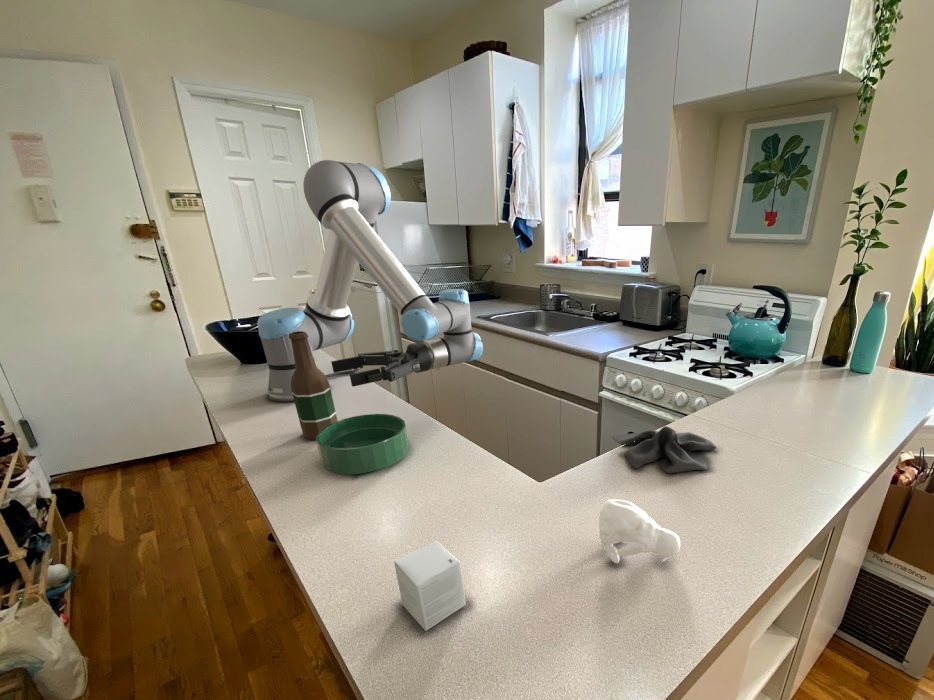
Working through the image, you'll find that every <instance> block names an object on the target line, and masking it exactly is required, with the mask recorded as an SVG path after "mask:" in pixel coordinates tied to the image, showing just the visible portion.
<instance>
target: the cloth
mask: <svg viewBox="0 0 934 700" xmlns="http://www.w3.org/2000/svg"><path fill="white" fill-rule="evenodd" d="M612 439H613V440H614V441H615V442H616V443H617V444H619V445H621V446H624V445H625V446H626V445H634V446H632V447H630V448H628V449H627V450H626V451H625V452H624V457H626V458H627V459H628V462H630V464H631V465H632V467H633V468H634V469H636V470H637V469H640V468H641V467H642V466H643V465H647V464H650V463H653V462H657V461H659V467H660V469H661V470H663V471H664V472H666V473H667V474H674V473H681V472H689V471H705V470H708V462H707V459H706V456H705V455H704V454H703V453H702V452H701V451H703V452H704V451H714V450H715V449H717V445H716V444H715V443H713V442H712V441H711V440H709V439H707V438H705V437H703V436H700V435H698V434H695V433H692V432H690V431H687V432H684V433H677V432H676V430H675V429H673V428H671V427H670V426H667V425H665V426H663V427H661V428H660V429H659V430H658V431H657V430H653V429H647V430H644V431H642V432H632V433H626V434H617V435H613V436H612ZM634 441H635V442H634Z"/></svg>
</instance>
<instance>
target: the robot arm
mask: <svg viewBox="0 0 934 700" xmlns="http://www.w3.org/2000/svg"><path fill="white" fill-rule="evenodd" d="M302 187H303V194H304V198H305V201H306V203H307V205H308V207H309V209H310V210H311V212H312V214H313V215H314V217H315V218H316V220H317V221H318V222H319V223H320V225H322V227H323V228H324V229H326V230H328V234H327V238H326V243H325V246H324V247H325V248H324V252H323V256H322V260H321V265H320V268H319V269H320V270H319V273H318V277H317V283H316V287H315V291H314V294H311V295H309V296H308V297H307V299H306V304H305V308H304V309H302V308H300V307H284V308H279V309H274V310H270V311H268V312H265V313H263V314H261V315H260V316H259V317H258V319H257V322H256V323H257V329H258V336H259V338H260V340H261V341H260V342H261V344H262V348H263V352H264V356H265V358H266V362H267V366H268V370H269V375H268V383H267V385H268V386H267V394H268V397H269V399H270V400H271V401H274V402H280V403H281V402H282V403H289V402H294V398H293V394H292V389H291V379H292V376H293V374H294V371H295V360H294V355H293V349H292V343H291V339H289V334H290V333H293V332H297V331H303V332H306V333H307V335H308V338H307V339H308V342H309V346H310V349H311V352H312V356H313V359H314V362H315V363H316V360H315V356H314V355H315V354H314V352H316V351H318V350H321V349H325V348H328V347H331V346H335V345H338V344H342V342H344V341H346V340H348V339H349V338H350V337H351V336H352V334H353V332H354V329H355V328H354V327H355V320H354V319H353V317H354V316H353V314H352V312H351V308H350V307H349V305H348V299H349V297H350V292H351V289H352V285H353V281H354V277H355V273H356V270H357V267H358V264H359V265H360V266H361V267H362V268H363V270H364V271H365V272H366V274H367V275H368V276H369V277H370V278H371V279H372V281H373V282H374V283H375V284H376V285H377V287H378V288H379V290H381V291H382V293H383V294H384V296H385V297H386V298H387V299H388V300H389V301H390V303H391V304H392V305H393V306H394V308H395V309H396V310H397V312H399V314H400V315H401V321H400V322H401V323H400V325H401V328H402V330H403V331H402V332H403V333H404V334H405V335H406V337H407V338H408V339H411V340H412V341H415V342H412V343H409V344H408V345H407V347H406V350H405V352H402V351H399V349H394V350H386V351H373V352H359V353H358V354H357V355H356V356H352V357H346V358H342V359H338V360H337V359H336V360H331V361H330V363H331V367H332V372H333V373H328V374H324V375H325V376H326V378H327V379H328V378H332V377H338V376H343V375H344V376H345V375H349V379H350V383H351V387H353V388H354V387H357V386H362V385H368V384H371V383H376V382H381V381H388V382H390V383H392V382H394V381H397V380H399V379H401V378H404V377H406V376H408V375H411V374H412V373H417V374H420V373H423V372H428V371H430V370H435V369H436V370H437V371H440V370H441V368H444V367H448V366H454V365H458V364H463V363H468V362H471V361H472V362H473V361H475V360H477V359H479V358H480V357H481V356H482V354H483V352H484V345H483V342H482V339H481V336H480V335H479V334H478V333H477V332H473V331H472V319H471V303H470V300H469V299H470V298H469V293H468V291H467V290H465V289H462V288H449V289H443V290H440V291H439V293H438V301H436V302H433V301H432V300H431V299H430V298H429V297H428V296H427V294H426V293H425V292H424V290H422V289H421V287H420V286H419V285H418V284H417V282H416V280H414V278H413V277H412V276H411V275H410V273H409V272H408V271H407V270H406V268H405V267H404V266H403V264H402V263H401V262H400V261H399V259H398V258H397V257H396V256H395V255H394V254H393V252H392V251H391V250H390V248H389V247H388V246H387V245H386V244H385V243H384V241H383V240H382V239H381V237H380V236H379V234H378V233H377V232H376V231H375V230H374V227H375V224H376V221H377V218H378V216H381V215H382V214H384V213H385V212H387V211H388V209H389V207H390V204H391V199H392V198H391V197H392V195H391V189H390V186H389V185H388V181H387V180H386V177H385V176H384V174H382V172H380V170H378V169H377V168H375V167H373V166H371V165H367V164H364V163H361V162H360V163H359V162H358V163H353V162H347V161H346V162H345V161H336V160H333V159H332V160H331V159H323V160H318V161H317V162H315V163H313V164H312V165H311V166H310V167H309V168H308V169H307V170H306V173H305V175H304V178H303V183H302ZM441 334H443V337H440V338H439V337H438V338H435V337H437V336H439V335H441ZM365 366H367V367H368V366H369V367H370V366H380V368H378V367H377V368H372V369H368V370H363V371H360V369H363V368H364V367H365ZM317 368H318V369H319V367H318V366H317ZM352 370H353V371H352ZM355 372H356V373H355Z"/></svg>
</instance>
